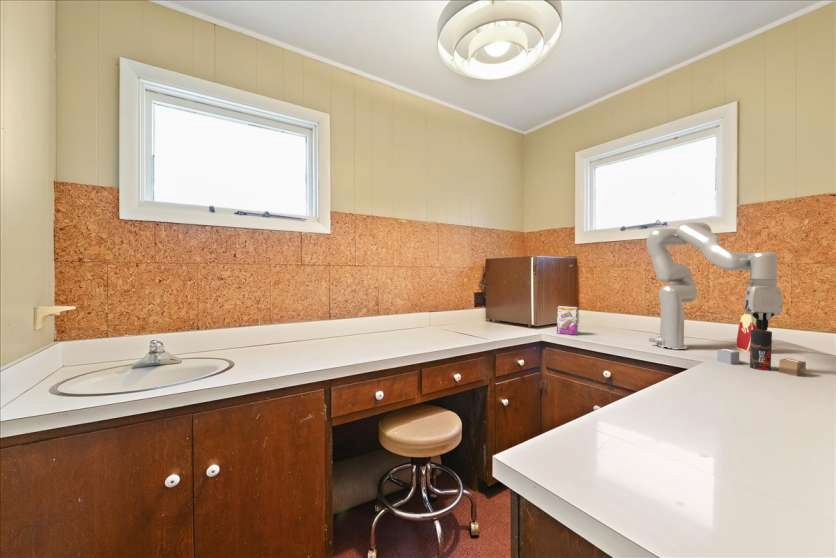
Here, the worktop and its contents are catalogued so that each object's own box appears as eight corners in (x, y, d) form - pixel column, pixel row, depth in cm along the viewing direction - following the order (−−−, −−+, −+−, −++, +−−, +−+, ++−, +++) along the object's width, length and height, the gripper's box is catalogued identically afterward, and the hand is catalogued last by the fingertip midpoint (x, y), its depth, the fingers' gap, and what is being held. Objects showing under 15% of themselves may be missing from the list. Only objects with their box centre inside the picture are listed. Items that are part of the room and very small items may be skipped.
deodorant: (764, 366, 137) (765, 330, 136) (774, 371, 131) (775, 332, 131) (746, 365, 139) (747, 329, 138) (755, 369, 133) (756, 332, 132)
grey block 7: (730, 364, 140) (731, 352, 140) (717, 361, 145) (717, 349, 145) (739, 363, 142) (739, 351, 142) (725, 360, 147) (725, 348, 146)
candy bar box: (556, 333, 204) (556, 306, 203) (558, 332, 208) (558, 305, 208) (576, 335, 198) (577, 308, 197) (577, 334, 202) (578, 307, 202)
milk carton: (771, 353, 156) (772, 310, 155) (747, 352, 158) (748, 310, 157) (755, 348, 165) (757, 308, 164) (733, 348, 166) (734, 307, 166)
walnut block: (796, 376, 125) (797, 362, 125) (779, 372, 130) (779, 359, 130) (805, 375, 127) (805, 361, 126) (787, 371, 131) (788, 358, 131)
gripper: (746, 284, 132) (745, 330, 132) (794, 284, 128) (793, 332, 129) (734, 283, 139) (733, 327, 140) (779, 282, 135) (777, 328, 136)
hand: (761, 329), depth 134 cm, fingers closed
